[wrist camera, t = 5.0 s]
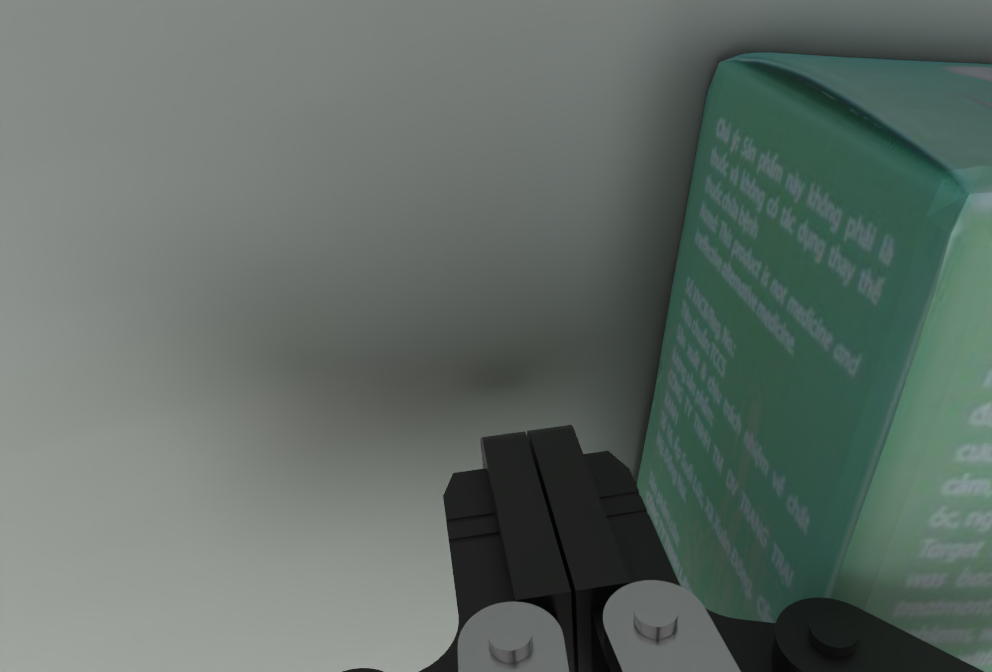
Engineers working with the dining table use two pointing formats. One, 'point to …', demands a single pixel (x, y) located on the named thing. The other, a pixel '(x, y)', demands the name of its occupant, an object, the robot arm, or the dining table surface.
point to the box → (833, 348)
